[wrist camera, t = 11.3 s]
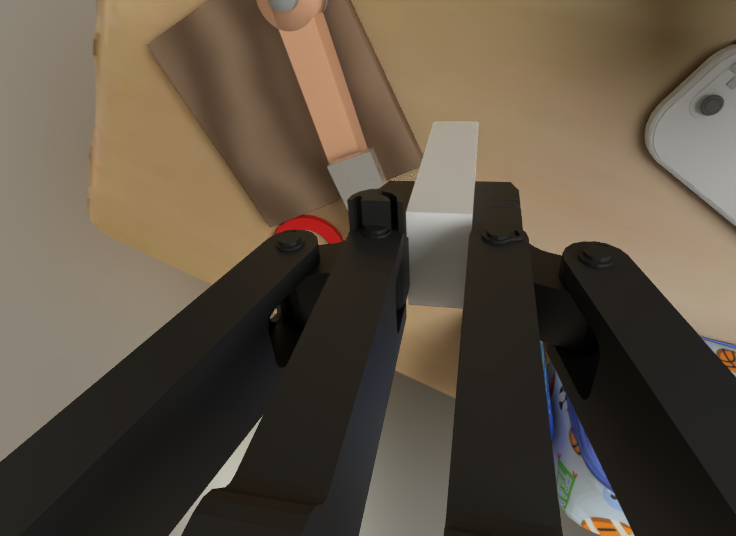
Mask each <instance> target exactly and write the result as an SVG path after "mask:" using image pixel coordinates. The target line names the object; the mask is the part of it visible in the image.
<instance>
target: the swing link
mask: <svg viewBox="0 0 736 536" xmlns="http://www.w3.org/2000/svg"><path fill="white" fill-rule="evenodd" d="M256 1H257V4H258V7H259V9H260V11H261V13H262V15H263V16H264V17H265V19H266V20H267V21H268V22H269V23H270V24H271V25H273V26H274V27H276V28H278V29H279V32H280V34H281V37H282V40H283V42H284V45H285V48H286V50H287V53H288V56H289V58H290V61H291V64H292V66H293V69H294V72H295V74H296V77H297V80H298V82H299V85H300V87H301V90H302V93H303V95H304V98H305V101H306V103H307V106H308V109H309V111H310V114H311V117H312V119H313V122H314V125H315V127H316V130H317V133H318V135H319V138H320V141H321V143H322V146H323V149H324V151H325V154H326V157H327V159H328V162H329V163H330V162H331V161H333V160H336V159H339V158H342V157H345V156H347V155H350V154H353V153H356V152H359V151H362V150H365V149H368V148H367V145H366V142H365V139H364V136H363V133H362V130H361V127H360V124H359V121H358V118H357V114H356V111H355V108H354V105H353V102H352V99H351V96H350V93H349V90H348V87H347V84H346V81H345V78H344V75H343V72H342V69H341V66H340V63H339V60H338V56H337V53H336V50H335V47H334V44H333V41H332V38H331V35H330V32H329V29H328V26H327V23H326V20H325V17H324V14H323V10H324V8H325V5H326V0H256Z"/></svg>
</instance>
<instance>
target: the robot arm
mask: <svg viewBox="0 0 736 536" xmlns="http://www.w3.org/2000/svg"><path fill="white" fill-rule="evenodd" d="M478 129H479V121H434V123H433V126H432V129H431V132H430V136H429V139H428V142H427V145H426V148H425V152H424V155H423V158H422V161H421V165H420V168H419V171H418V174H417V178H416V181H389V182H387V183H386V184H385V185H383V186H382V187H380V188H379V189H368V190H364V191H359V192H357V193H355V194H353V195H351V196H350V197H349V198H348V199H347V203H348V213H349V222H350V232H349V234H348V236H347V238H346V240H345V241H342V242H337V243H332V244H324V245H318V240H317V237H316V236H315V235H314V234H313V233H312V232H309V231H306V230H297V229H291V230H285V231H283V232H280V233H277V234H275V235H273V236H272V237H270V238H268V239H267V240H266V241H265V242H263V243H262V244H261V245H260V246H259V247H257V248H256V249H255V250H254V251H253V252H251V253H250V254H249V255H248V256H247V257H245V258H244V259H243V260H242V261H241V262H239V263H238V264H237V265H236V266H235V267H233V268H232V269H231V270H230V271H229V272H227V273H226V274H225V275H224V276H223V277H221V278H220V279H219V280H218V281H217V282H215V283H214V284H213V285H212V286H211V287H209V288H208V289H207V290H206V291H205V292H204V293H202V294H201V295H200V296H199V297H197V298H196V299H195V300H194V301H193V302H192V303H190V304H189V305H188V306H187V307H186V308H184V309H183V310H182V311H181V312H180V313H178V314H177V315H176V316H175V317H174V318H172V319H171V320H170V321H169V322H168V323H166V324H165V325H164V326H163V327H162V328H160V329H159V330H158V331H157V332H156V333H154V334H153V335H152V336H151V337H150V338H148V339H147V340H146V341H145V342H144V343H142V344H141V345H140V346H139V347H138V348H136V349H135V350H134V351H133V352H132V353H131V354H129V355H128V356H127V357H126V358H124V359H123V360H122V361H121V362H120V363H119V364H117V365H116V366H115V367H114V368H112V369H111V370H110V371H109V372H108V373H107V374H105V375H104V376H103V377H102V378H100V380H98V381H97V382H96V383H94V384H93V385H92V386H91V387H90V388H88V389H87V390H86V391H85V392H84V393H82V394H81V395H80V396H79V397H78V398H76V399H75V400H74V401H73V402H72V403H70V404H69V405H68V406H67V407H66V408H64V409H63V410H62V411H61V412H60V413H58V414H57V415H56V416H55V417H54V418H52V420H50V421H49V422H48V423H47V424H46V425H44V426H43V427H42V428H41V429H39V430H38V431H37V432H36V433H35V434H33V435H32V436H31V437H30V438H29V439H27V440H26V441H25V442H24V443H23V444H21V445H20V446H19V447H18V448H17V449H15V450H14V451H13V452H12V453H11V454H9V455H8V456H7V457H6V458H5V459H3V460H2V461H1V462H0V536H169V534H170V533H171V532H172V530H173V529H174V528H175V527H176V525H177V524H178V523H179V522H180V520H181V519H182V518H183V516H184V515H185V514H186V513H187V511H188V510H189V509H190V507H191V506H192V505H193V503H194V502H195V501H196V500H197V499H198V497H199V496H200V495H201V493H202V492H203V491H204V490H205V488H206V487H207V486H208V484H209V483H210V482H211V481H212V479H213V478H214V477H215V475H216V474H217V473H218V472H219V470H220V469H221V468H222V467H223V465H224V464H225V463H226V461H227V460H228V459H229V457H230V456H231V455H232V454H233V452H234V451H235V450H236V449H237V447H238V446H239V445H240V443H241V442H242V441H243V440H244V438H245V437H246V436H247V435H248V433H249V432H250V431H251V429H252V428H253V427H254V426H255V424H256V423H257V422H258V420H259V419H260V418H261V417H262V415H263V417H262V419H261V421H260V423H259V425H258V427H257V429H256V432H255V434H254V436H253V438H252V440H251V442H250V444H249V446H248V448H247V450H246V453H245V455H244V457H243V459H242V461H241V463H240V465H239V467H238V470H237V472H236V474H235V476H234V477H233V479H232V481H231V482H230V484H228V485H227V486H226V487H225V488H218V489H212V490H211V491H210V492H208V493H207V494H206V495H205V496H204V497H203V498H202V500H201V501H200V503H199V504H198V506H197V507H196V509H195V511H194V512H193V514H192V516H191V518H190V520H189V522H188V524H187V525H186V528H185V529H184V531H183V533H182V535H181V536H359V532H360V527H361V522H362V518H363V513H364V509H365V504H366V499H367V495H368V490H369V485H370V481H371V476H372V472H373V467H374V462H375V458H376V453H377V449H378V444H379V440H380V435H381V431H382V426H383V421H384V417H385V412H386V408H387V403H388V399H389V394H390V389H391V385H392V380H393V376H394V371H395V367H396V362H397V358H398V353H399V349H400V344H401V339H402V335H403V330H404V326H405V321H406V299H407V295H408V300H409V304H410V305H423V306H436V307H449V308H462V309H463V316H462V328H461V340H460V353H459V365H458V377H457V390H456V402H455V414H454V426H453V439H452V451H451V463H450V476H449V488H448V501H447V513H446V523H445V529H444V536H563V534H562V527H561V518H560V510H559V501H558V492H557V483H556V474H555V466H554V457H553V448H552V439H551V431H550V422H549V413H548V405H547V396H546V387H545V378H544V370H543V361H542V352H541V343H540V340H541V341H544V342H546V343H545V345H546V351H547V353H548V355H549V358H550V360H551V362H552V364H553V366H554V368H555V370H556V372H557V374H558V376H559V379H560V381H561V383H562V385H563V387H564V389H565V391H566V393H567V395H568V397H569V399H570V402H571V404H572V406H573V408H574V410H575V412H576V414H577V416H578V418H579V420H580V423H581V425H582V427H583V429H584V431H585V433H586V435H587V437H588V439H589V441H590V444H591V446H592V448H593V450H594V452H595V454H596V456H597V458H598V460H599V462H600V464H601V467H602V469H603V471H604V473H605V475H606V477H607V479H608V481H609V483H610V485H611V488H612V490H613V492H614V494H615V496H616V498H617V500H618V502H619V504H620V506H621V509H622V511H623V513H624V515H625V517H626V519H627V521H628V523H629V525H630V527H631V529H632V532H633V534H634V536H736V376H735V375H734V374H733V373H732V372H731V371H730V370H729V369H728V367H727V366H726V365H725V364H724V363H723V362H722V361H721V360H720V358H719V357H718V356H717V355H716V354H715V353H714V352H713V351H712V349H711V348H710V347H709V346H708V345H707V344H706V343H705V341H704V340H703V339H702V338H701V337H700V336H699V335H698V334H697V332H696V331H695V330H694V329H693V328H692V327H691V326H690V325H689V323H688V322H687V321H686V320H685V319H684V318H683V317H682V316H681V314H680V313H679V312H678V311H677V310H676V309H675V308H674V307H673V305H672V304H671V303H670V302H669V301H668V300H667V299H666V298H665V296H664V295H663V294H662V293H661V292H660V291H659V290H658V289H657V287H656V286H655V285H654V284H653V283H652V282H651V281H650V280H649V278H648V277H647V276H646V275H645V274H644V273H643V272H642V271H641V269H640V268H639V267H638V266H637V265H636V264H635V263H634V262H633V260H632V259H631V258H630V257H629V256H628V255H627V254H626V253H624V252H623V251H622V250H620V249H618V248H616V247H614V246H611V245H609V244H606V243H600V242H595V241H593V242H578V243H573V244H571V245H570V246H568V247H566V248H565V250H564V252H563V254H562V256H561V255H557V254H553V253H549V252H545V251H542V250H540V249H538V248H535V247H534V246H532V245H531V244H529V238H528V236H527V234H526V232H524V231H523V227H522V217H521V208H520V198H519V190H518V189H517V188H516V187H515V186H514V185H513V184H512V183H511V182H476V181H475V178H476V161H477V145H478ZM275 308H277V314H276V315H275V316H274V317H273V318H271V319H270V316H271V314H272V313H273V311H274V310H275Z"/></svg>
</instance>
